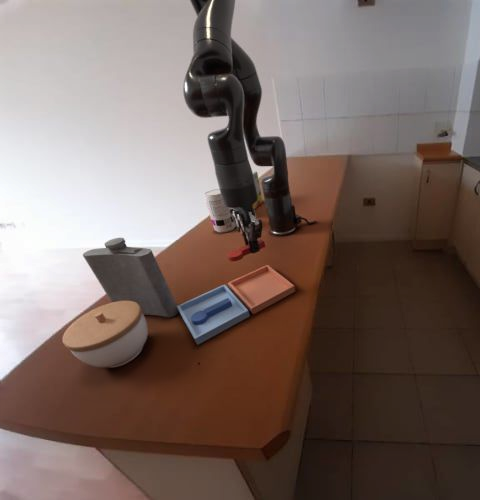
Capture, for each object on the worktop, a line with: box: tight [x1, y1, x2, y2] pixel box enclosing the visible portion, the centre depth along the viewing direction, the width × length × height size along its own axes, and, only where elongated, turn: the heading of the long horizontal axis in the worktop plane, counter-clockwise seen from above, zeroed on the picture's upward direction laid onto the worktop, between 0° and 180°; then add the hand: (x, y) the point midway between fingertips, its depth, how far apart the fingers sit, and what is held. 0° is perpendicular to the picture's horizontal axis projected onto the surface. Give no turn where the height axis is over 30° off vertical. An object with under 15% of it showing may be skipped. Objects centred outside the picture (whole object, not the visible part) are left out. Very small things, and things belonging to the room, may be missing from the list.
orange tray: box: [227, 264, 296, 315], centre depth 74 cm, size 12×14×2 cm
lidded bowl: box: [61, 301, 149, 368], centre depth 56 cm, size 13×13×11 cm
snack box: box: [252, 171, 264, 210], centre depth 121 cm, size 21×6×15 cm, turn 168°
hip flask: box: [82, 237, 180, 318], centre depth 65 cm, size 16×4×20 cm, turn 83°
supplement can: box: [204, 188, 236, 234], centre depth 106 cm, size 8×8×15 cm
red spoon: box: [226, 239, 266, 262], centre depth 68 cm, size 9×4×2 cm, turn 130°
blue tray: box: [177, 284, 251, 345], centre depth 67 cm, size 12×14×2 cm
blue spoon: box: [191, 298, 232, 325], centre depth 66 cm, size 9×4×2 cm, turn 131°
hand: (253, 250), depth 69 cm, fingers closed on red spoon, 2 cm apart
